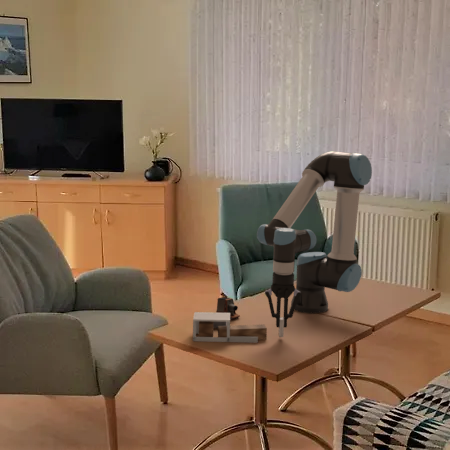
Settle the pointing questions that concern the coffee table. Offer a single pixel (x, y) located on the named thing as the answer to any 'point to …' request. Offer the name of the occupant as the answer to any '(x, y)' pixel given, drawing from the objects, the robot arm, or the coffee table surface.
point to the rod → (244, 331)
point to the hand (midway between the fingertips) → (281, 335)
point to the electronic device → (227, 307)
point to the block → (206, 328)
